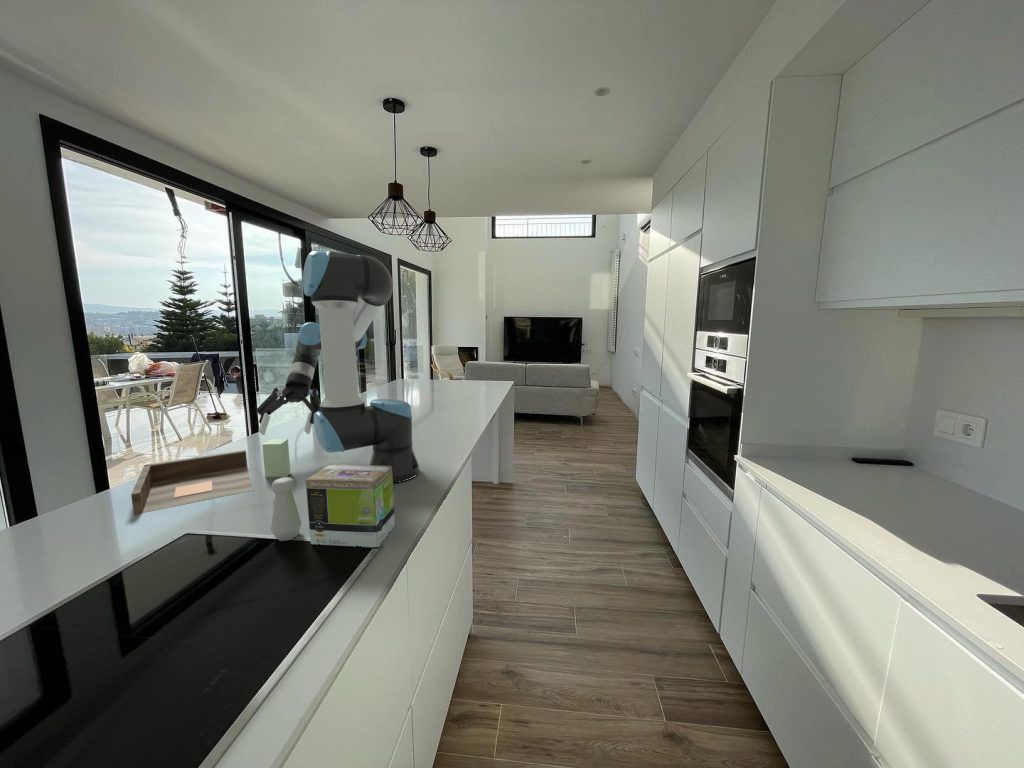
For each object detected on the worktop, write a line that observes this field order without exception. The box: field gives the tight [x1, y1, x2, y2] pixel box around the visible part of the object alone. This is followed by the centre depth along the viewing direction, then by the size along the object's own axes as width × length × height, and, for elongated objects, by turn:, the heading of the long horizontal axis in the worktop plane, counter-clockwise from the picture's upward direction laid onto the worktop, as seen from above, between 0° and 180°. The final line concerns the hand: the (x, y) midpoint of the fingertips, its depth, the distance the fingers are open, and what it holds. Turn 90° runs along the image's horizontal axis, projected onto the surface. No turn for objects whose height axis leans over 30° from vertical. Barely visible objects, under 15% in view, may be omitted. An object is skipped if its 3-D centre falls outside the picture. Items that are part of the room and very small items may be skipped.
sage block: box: [262, 438, 291, 479], centre depth 122 cm, size 5×5×11 cm
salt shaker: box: [270, 476, 302, 542], centre depth 88 cm, size 6×6×13 cm
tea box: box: [305, 463, 396, 548], centre depth 89 cm, size 15×10×15 cm
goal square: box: [174, 481, 212, 498], centre depth 111 cm, size 8×8×1 cm
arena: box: [130, 449, 255, 515], centre depth 113 cm, size 24×24×6 cm
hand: (284, 432), depth 128 cm, fingers open, 13 cm apart
